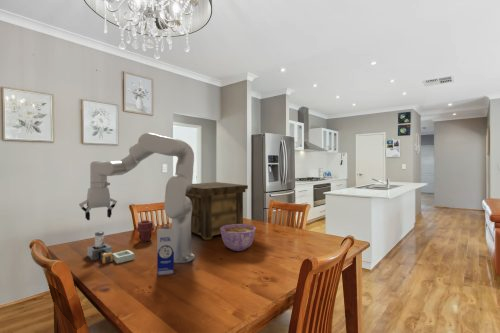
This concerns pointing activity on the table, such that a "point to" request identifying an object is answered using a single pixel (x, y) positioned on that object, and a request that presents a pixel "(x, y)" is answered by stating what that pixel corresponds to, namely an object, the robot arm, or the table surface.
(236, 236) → the bowl of food
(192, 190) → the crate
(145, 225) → the dark red pot
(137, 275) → the table surface
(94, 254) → the socket block
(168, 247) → the milk carton
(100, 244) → the grey peg
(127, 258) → the pale green tray
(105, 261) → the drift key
